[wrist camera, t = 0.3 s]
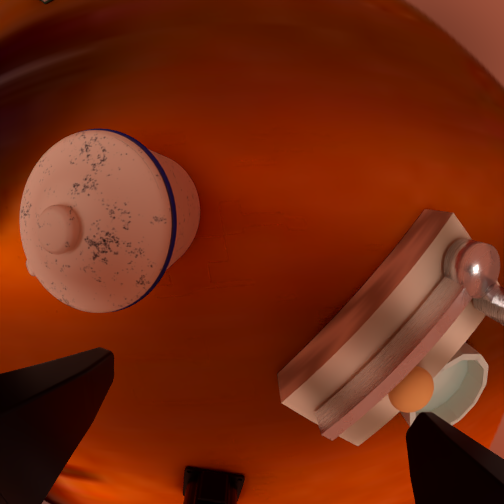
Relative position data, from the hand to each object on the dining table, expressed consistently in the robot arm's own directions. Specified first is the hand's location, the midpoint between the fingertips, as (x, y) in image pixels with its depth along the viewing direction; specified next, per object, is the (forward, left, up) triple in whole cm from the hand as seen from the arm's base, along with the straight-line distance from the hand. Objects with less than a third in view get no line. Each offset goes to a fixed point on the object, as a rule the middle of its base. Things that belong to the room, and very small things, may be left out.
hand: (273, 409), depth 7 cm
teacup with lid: (+2, +10, -16) cm, 19 cm away
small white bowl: (-8, -20, -15) cm, 26 cm away
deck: (-3, -12, -15) cm, 19 cm away
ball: (-5, -12, -10) cm, 16 cm away
